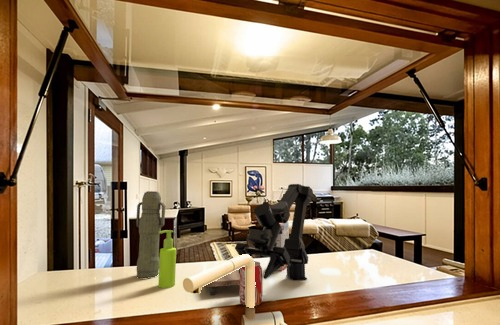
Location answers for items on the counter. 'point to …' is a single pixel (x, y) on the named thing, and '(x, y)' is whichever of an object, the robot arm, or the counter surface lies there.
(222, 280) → the tan square tray
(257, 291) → the soda can
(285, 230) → the cracker box
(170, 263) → the soap dispenser
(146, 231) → the thermos
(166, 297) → the counter surface
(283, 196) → the robot arm
